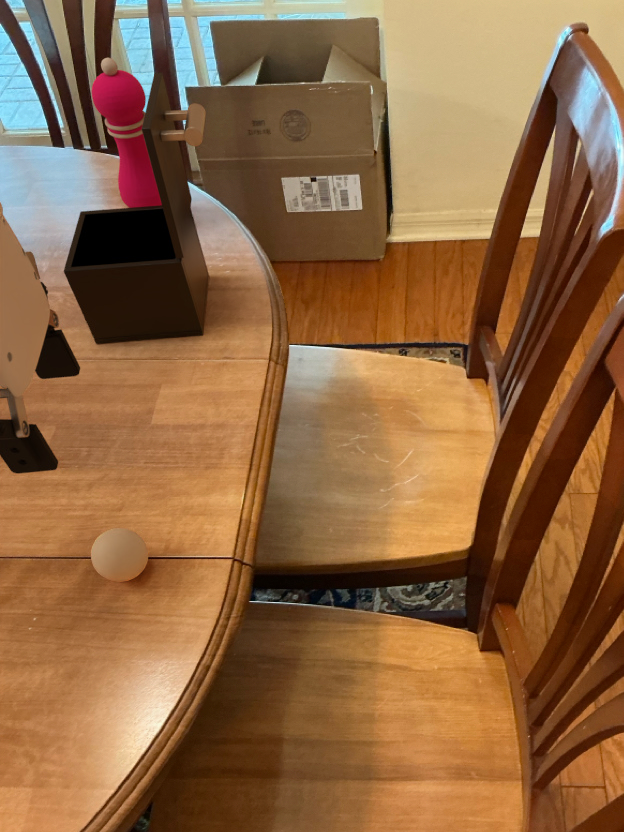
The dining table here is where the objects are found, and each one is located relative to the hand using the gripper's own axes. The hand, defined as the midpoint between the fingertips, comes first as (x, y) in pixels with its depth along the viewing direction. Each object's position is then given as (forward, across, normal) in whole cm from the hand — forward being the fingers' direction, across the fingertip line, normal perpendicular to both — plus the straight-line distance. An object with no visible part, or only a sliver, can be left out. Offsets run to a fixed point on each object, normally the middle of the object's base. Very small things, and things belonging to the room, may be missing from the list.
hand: (49, 419), depth 57 cm
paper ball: (+18, +2, 0) cm, 18 cm away
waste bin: (+17, -36, -1) cm, 40 cm away
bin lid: (+1, -36, +5) cm, 37 cm away
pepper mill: (+18, -55, -3) cm, 58 cm away
